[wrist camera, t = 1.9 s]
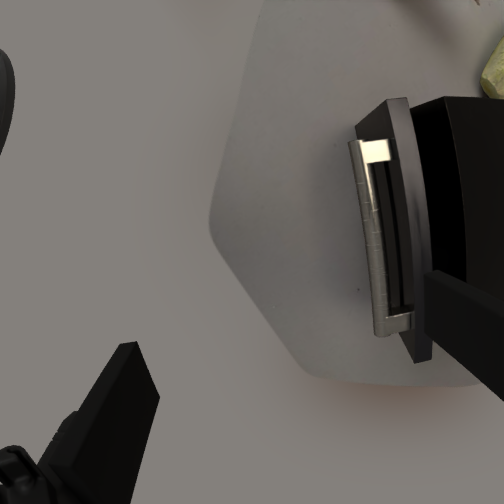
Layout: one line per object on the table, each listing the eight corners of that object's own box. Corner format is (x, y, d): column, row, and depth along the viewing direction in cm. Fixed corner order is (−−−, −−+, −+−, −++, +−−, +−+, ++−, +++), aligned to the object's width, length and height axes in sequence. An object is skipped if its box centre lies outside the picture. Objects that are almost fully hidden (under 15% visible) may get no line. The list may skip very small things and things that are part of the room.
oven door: (356, 305, 36) (379, 371, 23) (327, 130, 32) (343, 104, 19) (393, 298, 35) (431, 359, 22) (368, 124, 31) (406, 97, 18)
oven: (394, 296, 36) (462, 348, 22) (369, 124, 31) (443, 96, 18) (486, 265, 36) (558, 294, 22) (470, 118, 32) (548, 104, 18)
